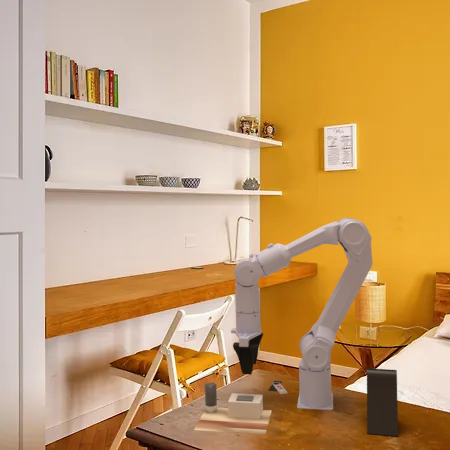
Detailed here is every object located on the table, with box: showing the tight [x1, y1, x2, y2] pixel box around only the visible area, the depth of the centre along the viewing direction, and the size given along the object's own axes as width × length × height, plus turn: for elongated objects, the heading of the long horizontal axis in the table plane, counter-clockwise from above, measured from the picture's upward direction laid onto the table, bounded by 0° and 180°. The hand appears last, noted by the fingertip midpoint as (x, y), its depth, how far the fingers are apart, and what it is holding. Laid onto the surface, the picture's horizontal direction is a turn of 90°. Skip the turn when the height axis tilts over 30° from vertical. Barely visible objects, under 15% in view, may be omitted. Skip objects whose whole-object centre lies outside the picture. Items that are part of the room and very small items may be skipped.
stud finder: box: [227, 392, 264, 419], centre depth 118 cm, size 5×7×4 cm
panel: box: [193, 407, 273, 435], centre depth 115 cm, size 12×15×1 cm
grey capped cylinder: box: [204, 382, 218, 413], centre depth 120 cm, size 3×3×6 cm
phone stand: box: [366, 367, 399, 437], centre depth 111 cm, size 9×6×12 cm, turn 164°
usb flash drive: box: [267, 380, 289, 395], centre depth 133 cm, size 9×5×1 cm, turn 162°
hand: (249, 368), depth 124 cm, fingers open, 6 cm apart
